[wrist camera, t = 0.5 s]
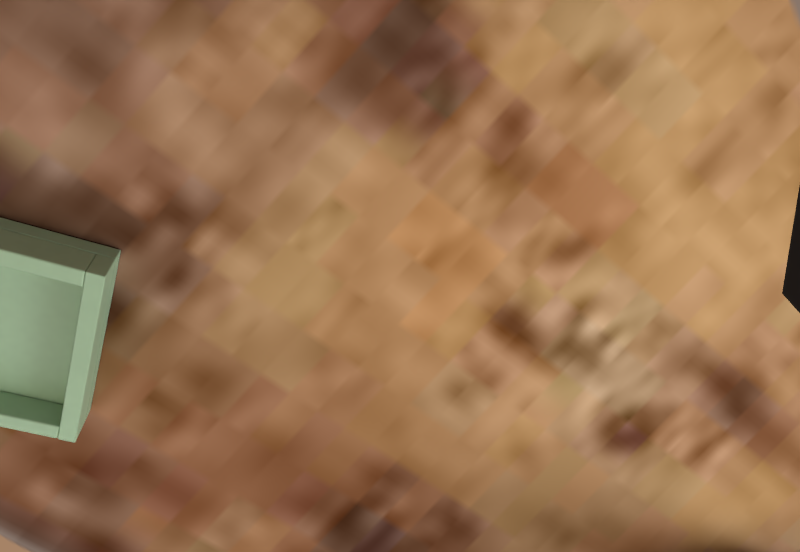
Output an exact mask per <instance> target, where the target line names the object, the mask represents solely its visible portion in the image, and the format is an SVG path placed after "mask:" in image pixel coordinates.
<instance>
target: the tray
mask: <svg viewBox="0 0 800 552" xmlns="http://www.w3.org/2000/svg"><path fill="white" fill-rule="evenodd" d="M120 253H121V250H119V249H115V248H112V247H108V246H104V245H100V244H97V243H93V242H89V241H86V240H82V239H78V238H75V237H71V236H67V235H63V234H60V233H56V232H52V231H49V230H45V229H41V228H37V227H34V226H30V225H26V224H23V223H19V222H15V221H12V220H8V219H4V218H0V426H1V427H5V428H10V429H15V430H19V431H24V432H29V433H34V434H38V435H43V436H48V437H53V438H57V437H58V439H60V440H65V441H70V442H76V439H77V437H78V435H79V433H80V431H81V429H82V427H83V425H84V422H85V420H86V418H87V416H88V414H89V412H90V409H91V404H92V398H93V393H94V388H95V383H96V378H97V372H98V367H99V362H100V357H101V352H102V346H103V341H104V336H105V331H106V326H107V320H108V315H109V310H110V305H111V300H112V294H113V289H114V284H115V279H116V274H117V268H118V263H119V258H120Z"/></svg>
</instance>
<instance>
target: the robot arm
mask: <svg viewBox="0 0 800 552" xmlns="http://www.w3.org/2000/svg"><path fill="white" fill-rule="evenodd" d="M782 294H783V295H784V296H785V297H786V298H787V299H788V300H789V301H790V303H791V304H792V305H793V306H794V307H795V308H796V309H797V310H798V311H799V313H800V187H799V193H798V199H797V205H796V212H795V218H794V224H793V230H792V236H791V242H790V249H789V255H788V261H787V267H786V273H785V280H784V286H783V292H782Z"/></svg>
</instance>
